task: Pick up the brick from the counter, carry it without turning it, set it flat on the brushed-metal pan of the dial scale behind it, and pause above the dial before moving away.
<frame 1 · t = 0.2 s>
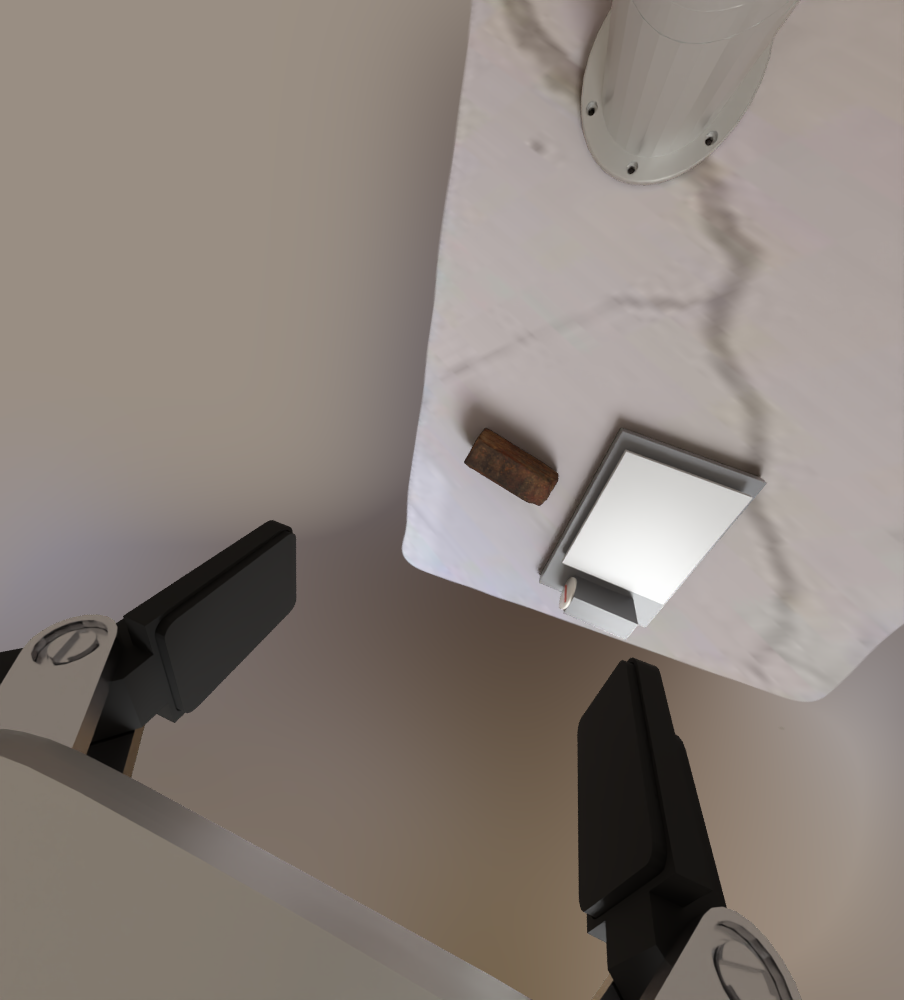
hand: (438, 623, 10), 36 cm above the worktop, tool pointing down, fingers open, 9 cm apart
scale: (633, 534, 45), on the worktop
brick: (514, 460, 46), on the worktop
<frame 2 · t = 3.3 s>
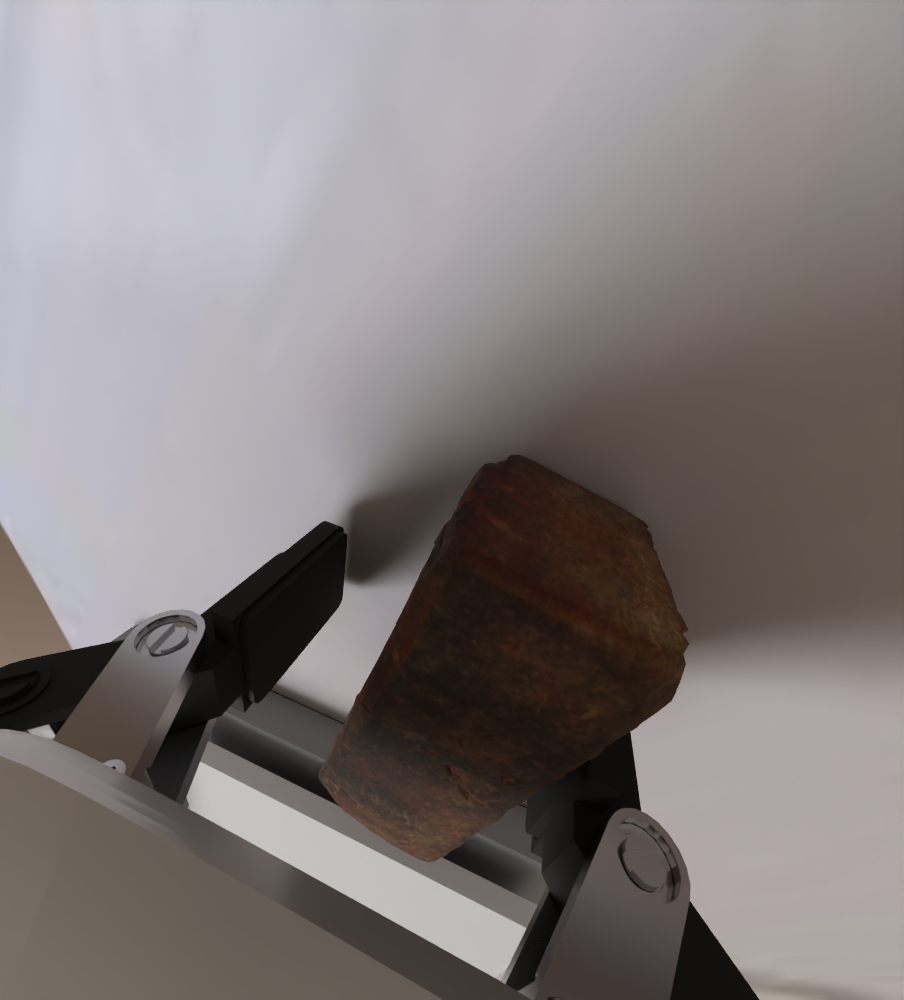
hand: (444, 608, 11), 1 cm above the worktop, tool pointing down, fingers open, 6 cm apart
scale: (331, 797, 20), on the worktop
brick: (478, 608, 11), on the worktop
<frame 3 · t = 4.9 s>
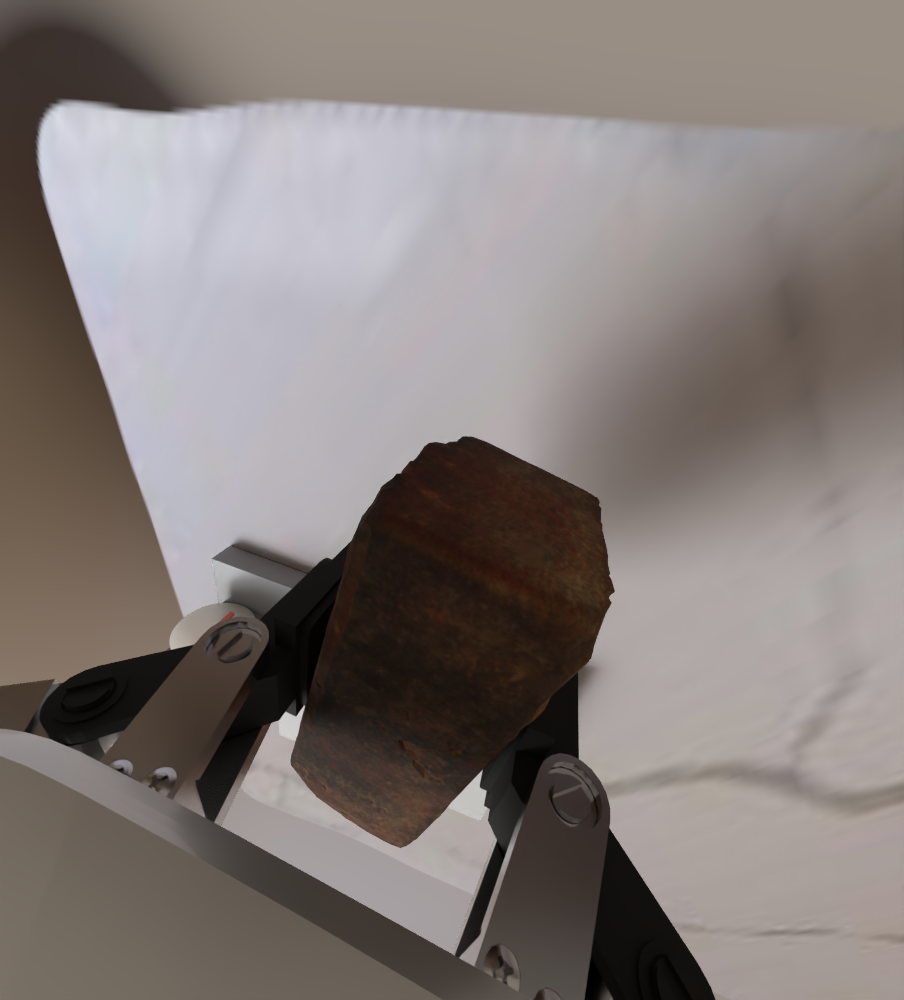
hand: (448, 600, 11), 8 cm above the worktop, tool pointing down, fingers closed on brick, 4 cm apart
scale: (377, 677, 26), on the worktop
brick: (451, 595, 11), point 7 cm above the worktop, touching gripper
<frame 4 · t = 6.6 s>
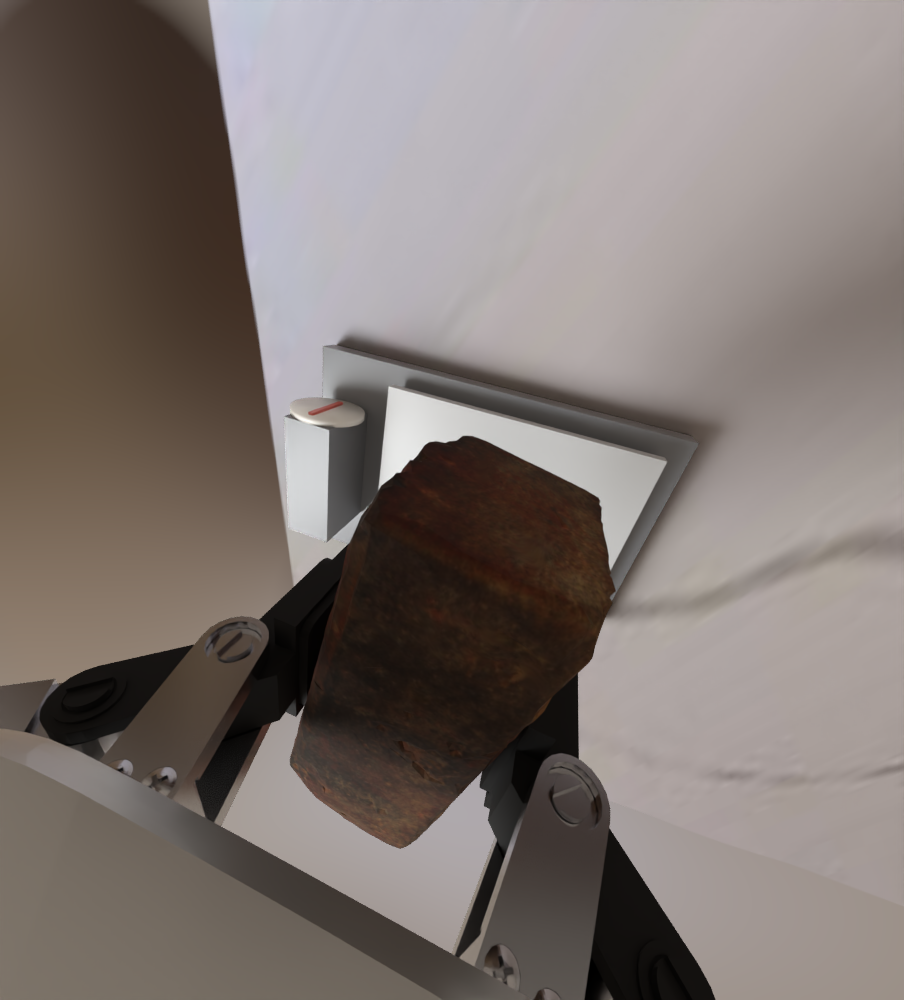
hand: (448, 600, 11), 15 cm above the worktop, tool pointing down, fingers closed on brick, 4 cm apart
scale: (472, 490, 26), on the worktop
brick: (451, 595, 11), point 15 cm above the worktop, touching gripper
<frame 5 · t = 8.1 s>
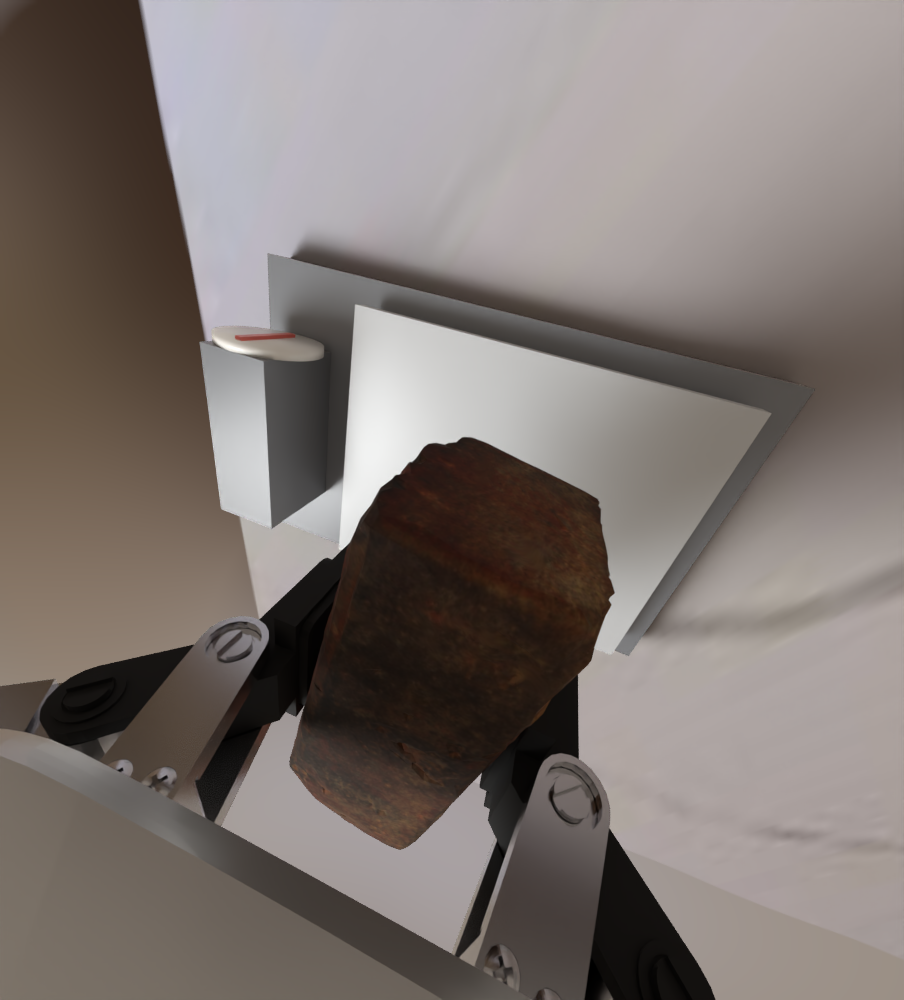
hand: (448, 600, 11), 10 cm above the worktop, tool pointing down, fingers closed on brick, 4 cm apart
scale: (472, 464, 20), on the worktop
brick: (450, 596, 11), point 10 cm above the worktop, touching gripper
when the fingers open (4 cm above the worktop, at t = 9.4 s): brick stays where it is, resting on scale.
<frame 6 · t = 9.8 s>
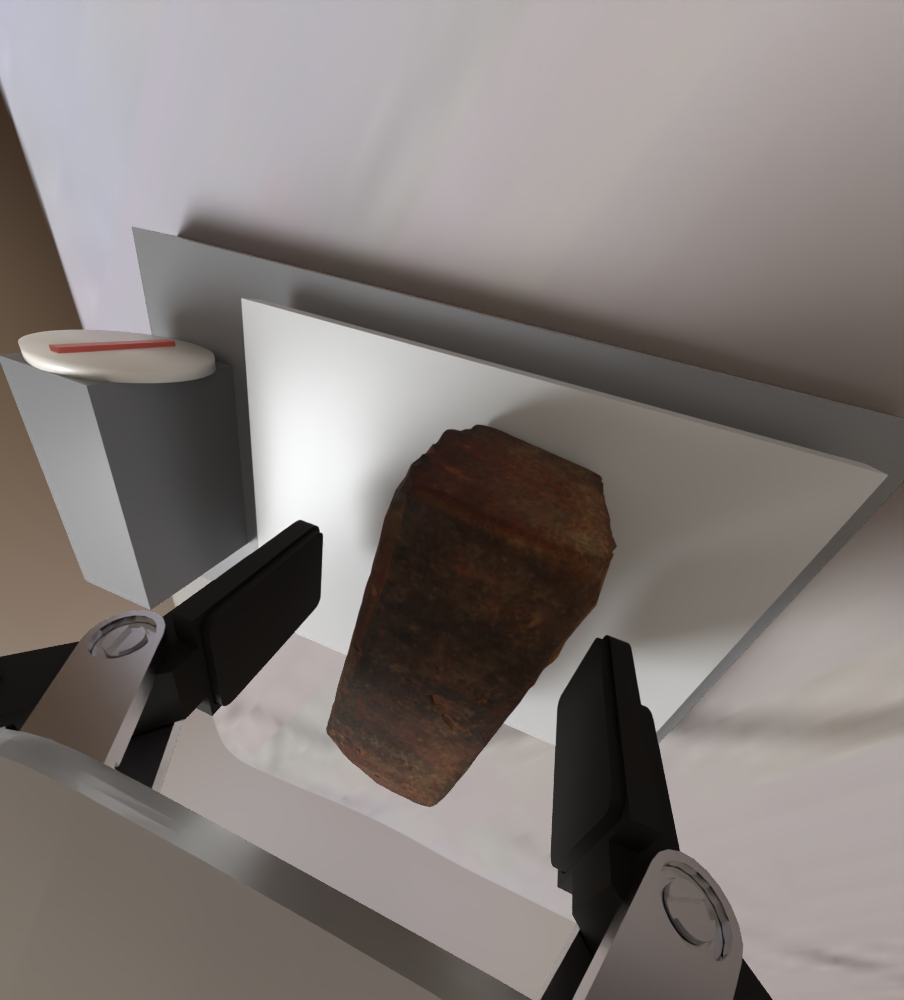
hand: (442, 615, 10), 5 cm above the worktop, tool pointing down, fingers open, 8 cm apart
scale: (434, 513, 15), on the worktop
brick: (467, 576, 12), point 3 cm above the worktop, touching scale
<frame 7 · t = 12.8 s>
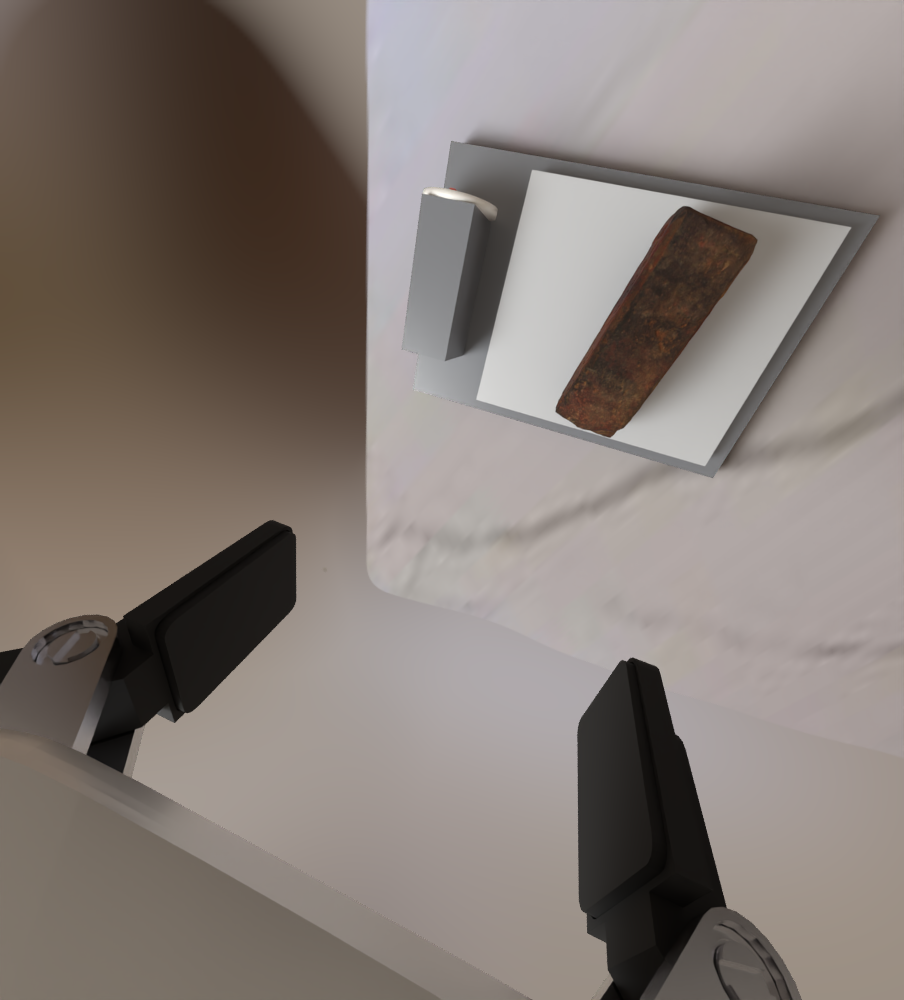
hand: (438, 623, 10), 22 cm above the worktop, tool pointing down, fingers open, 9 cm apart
scale: (591, 322, 25), on the worktop
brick: (631, 337, 22), point 3 cm above the worktop, touching scale
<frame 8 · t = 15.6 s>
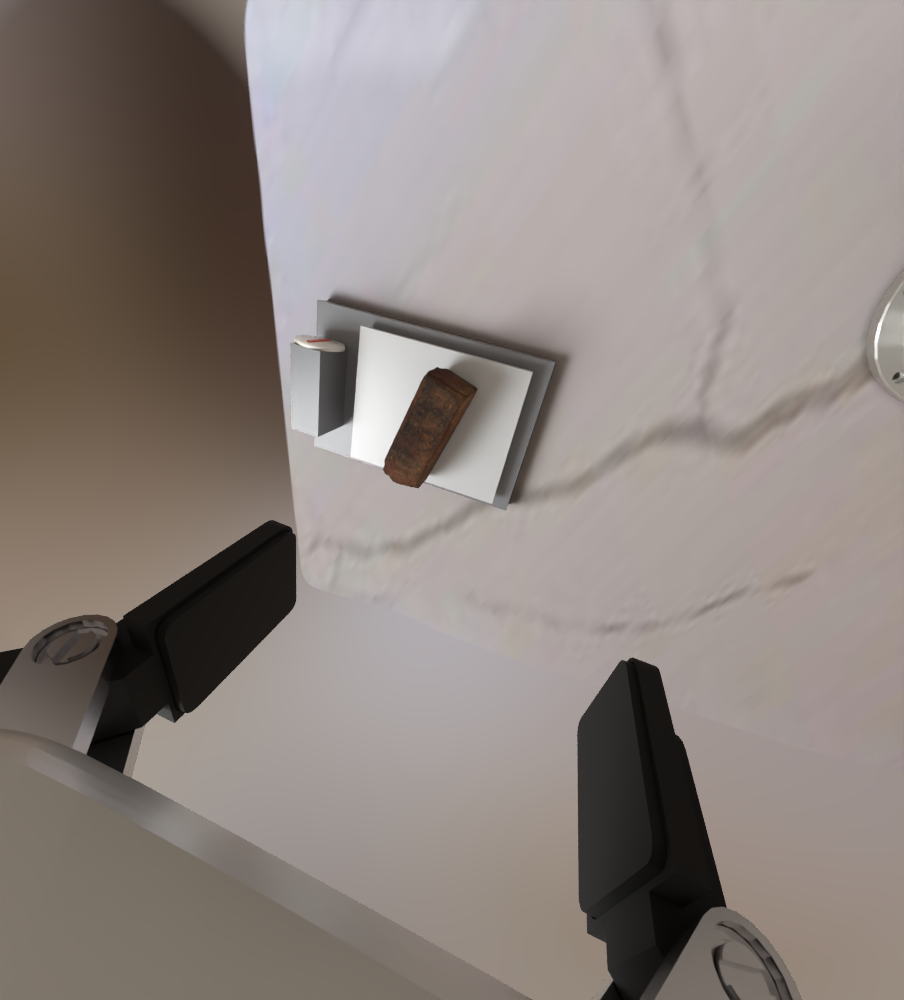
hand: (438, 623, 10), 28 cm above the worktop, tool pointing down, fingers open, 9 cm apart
scale: (421, 407, 38), on the worktop
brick: (436, 425, 35), point 3 cm above the worktop, touching scale
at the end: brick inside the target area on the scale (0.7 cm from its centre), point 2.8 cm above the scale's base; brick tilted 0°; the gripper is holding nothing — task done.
